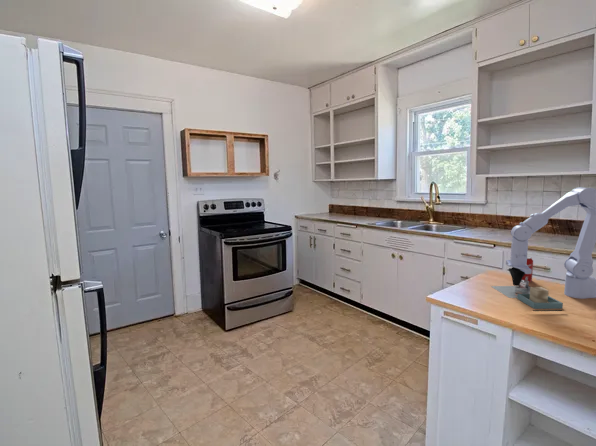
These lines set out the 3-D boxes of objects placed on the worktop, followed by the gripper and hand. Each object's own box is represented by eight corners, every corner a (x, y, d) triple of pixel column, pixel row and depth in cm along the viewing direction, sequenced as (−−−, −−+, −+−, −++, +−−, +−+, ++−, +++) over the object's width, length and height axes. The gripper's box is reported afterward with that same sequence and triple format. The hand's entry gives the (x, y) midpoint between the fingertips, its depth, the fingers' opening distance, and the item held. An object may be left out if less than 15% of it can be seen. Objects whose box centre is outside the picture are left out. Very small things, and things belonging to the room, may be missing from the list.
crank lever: (519, 284, 144) (519, 279, 144) (529, 286, 142) (529, 280, 141) (515, 292, 135) (515, 286, 134) (525, 294, 132) (525, 288, 132)
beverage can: (512, 280, 154) (513, 255, 153) (524, 279, 155) (525, 254, 153) (522, 284, 148) (524, 258, 146) (535, 283, 149) (537, 258, 147)
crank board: (527, 287, 144) (528, 285, 144) (550, 299, 130) (550, 297, 130) (490, 288, 145) (490, 286, 144) (509, 300, 131) (509, 297, 131)
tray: (543, 300, 129) (543, 293, 129) (562, 310, 119) (562, 303, 119) (517, 301, 130) (517, 293, 129) (533, 311, 120) (534, 303, 119)
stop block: (540, 301, 127) (541, 286, 126) (547, 305, 123) (548, 290, 122) (529, 301, 127) (530, 287, 126) (536, 305, 123) (537, 290, 122)
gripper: (499, 250, 144) (497, 280, 146) (519, 258, 129) (517, 291, 131) (515, 250, 143) (513, 279, 145) (538, 258, 129) (535, 291, 131)
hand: (516, 285), depth 138 cm, fingers closed, pressing on crank lever
